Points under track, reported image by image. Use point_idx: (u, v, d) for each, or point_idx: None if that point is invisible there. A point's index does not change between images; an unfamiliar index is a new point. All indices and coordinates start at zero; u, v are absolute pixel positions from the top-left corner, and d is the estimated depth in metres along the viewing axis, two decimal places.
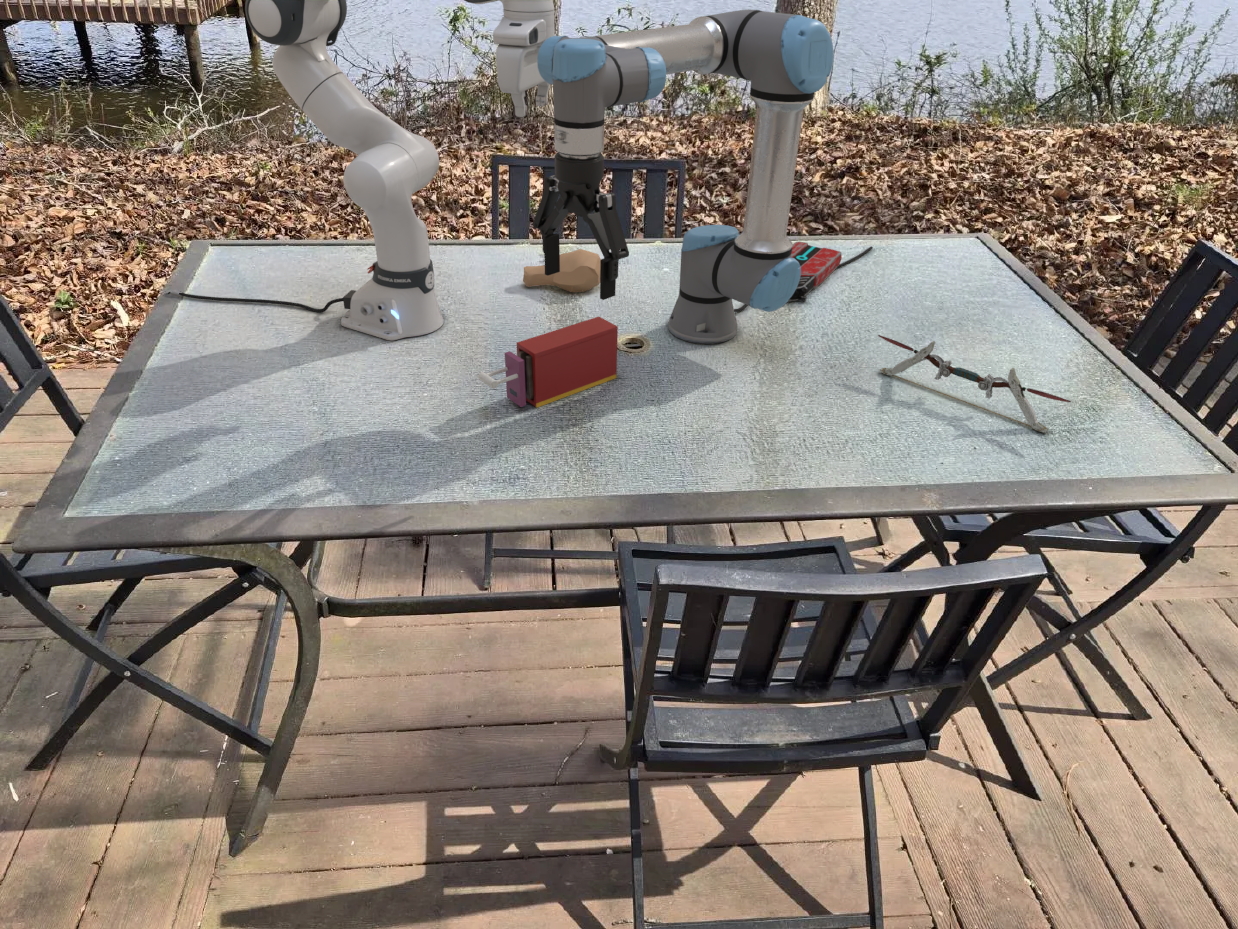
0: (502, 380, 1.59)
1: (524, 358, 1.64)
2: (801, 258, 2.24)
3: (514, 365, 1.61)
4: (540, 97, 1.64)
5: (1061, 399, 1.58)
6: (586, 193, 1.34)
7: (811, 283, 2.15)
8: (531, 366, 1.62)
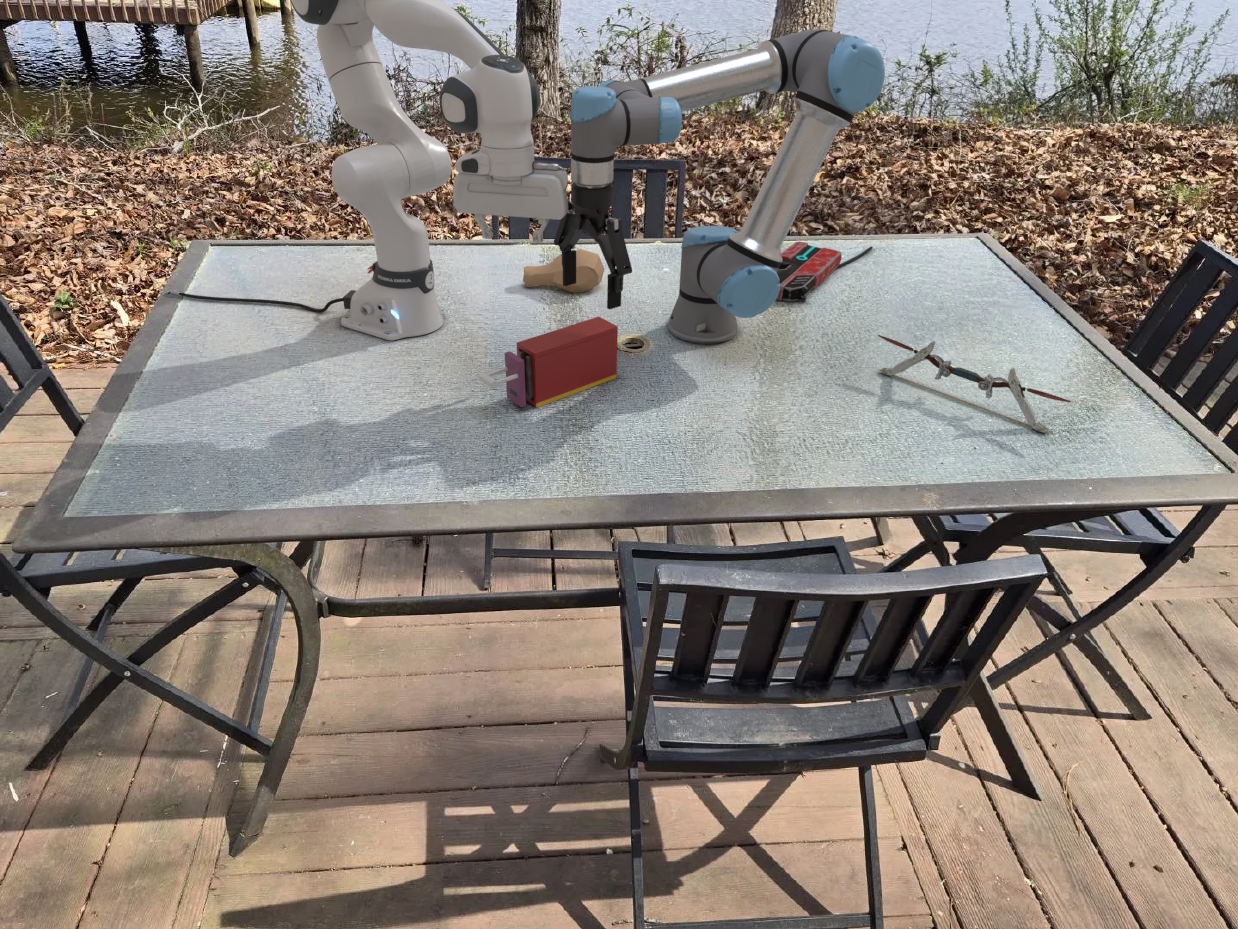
0: (502, 380, 1.59)
1: (524, 358, 1.64)
2: (801, 258, 2.24)
3: (514, 365, 1.61)
4: None
5: (1061, 399, 1.58)
6: None
7: (811, 283, 2.15)
8: (531, 366, 1.62)
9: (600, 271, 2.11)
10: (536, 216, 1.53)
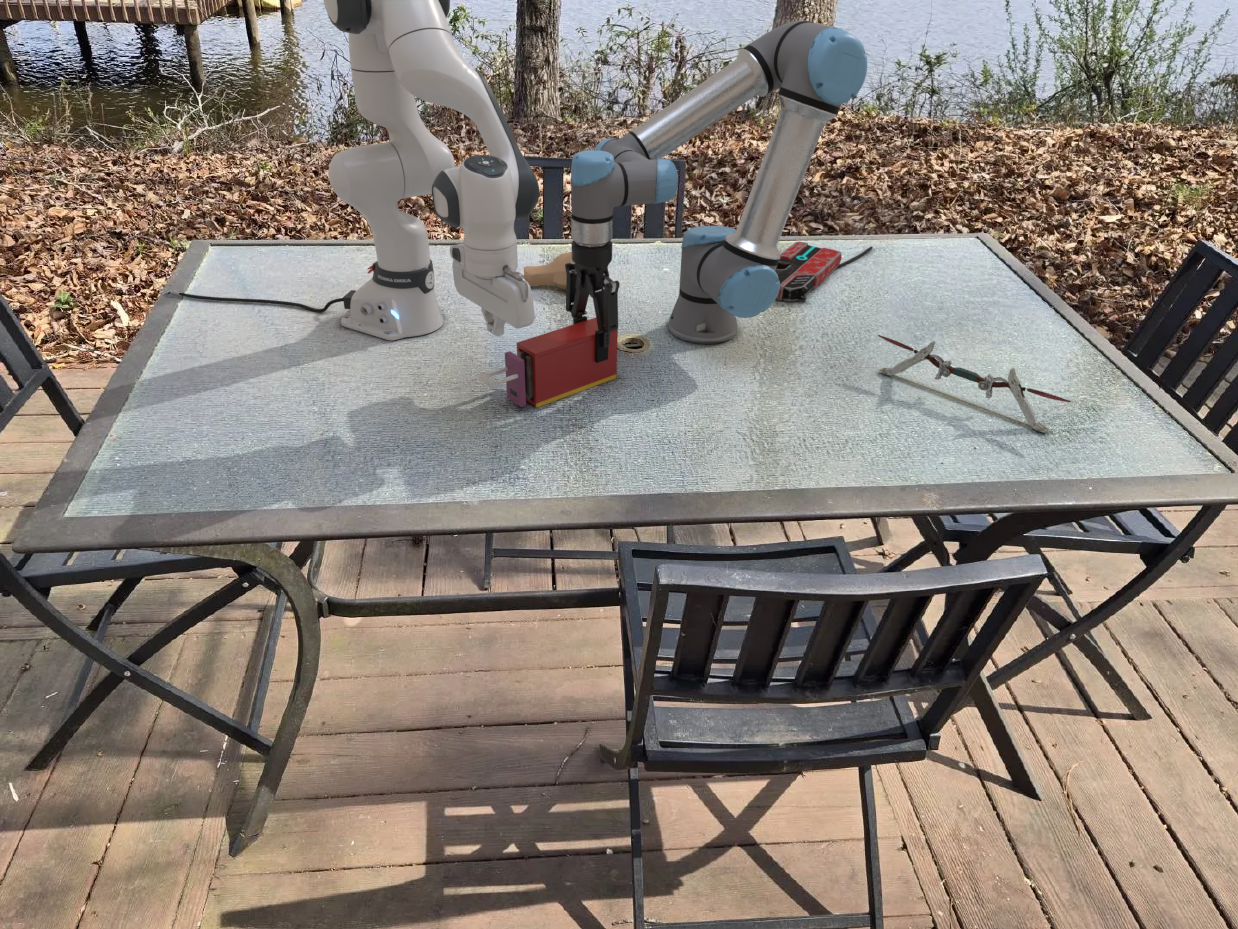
0: (502, 380, 1.59)
1: (524, 358, 1.64)
2: (801, 258, 2.24)
3: (514, 365, 1.61)
4: None
5: (1061, 399, 1.58)
6: None
7: (811, 283, 2.15)
8: (531, 366, 1.62)
9: None
10: (501, 318, 1.49)
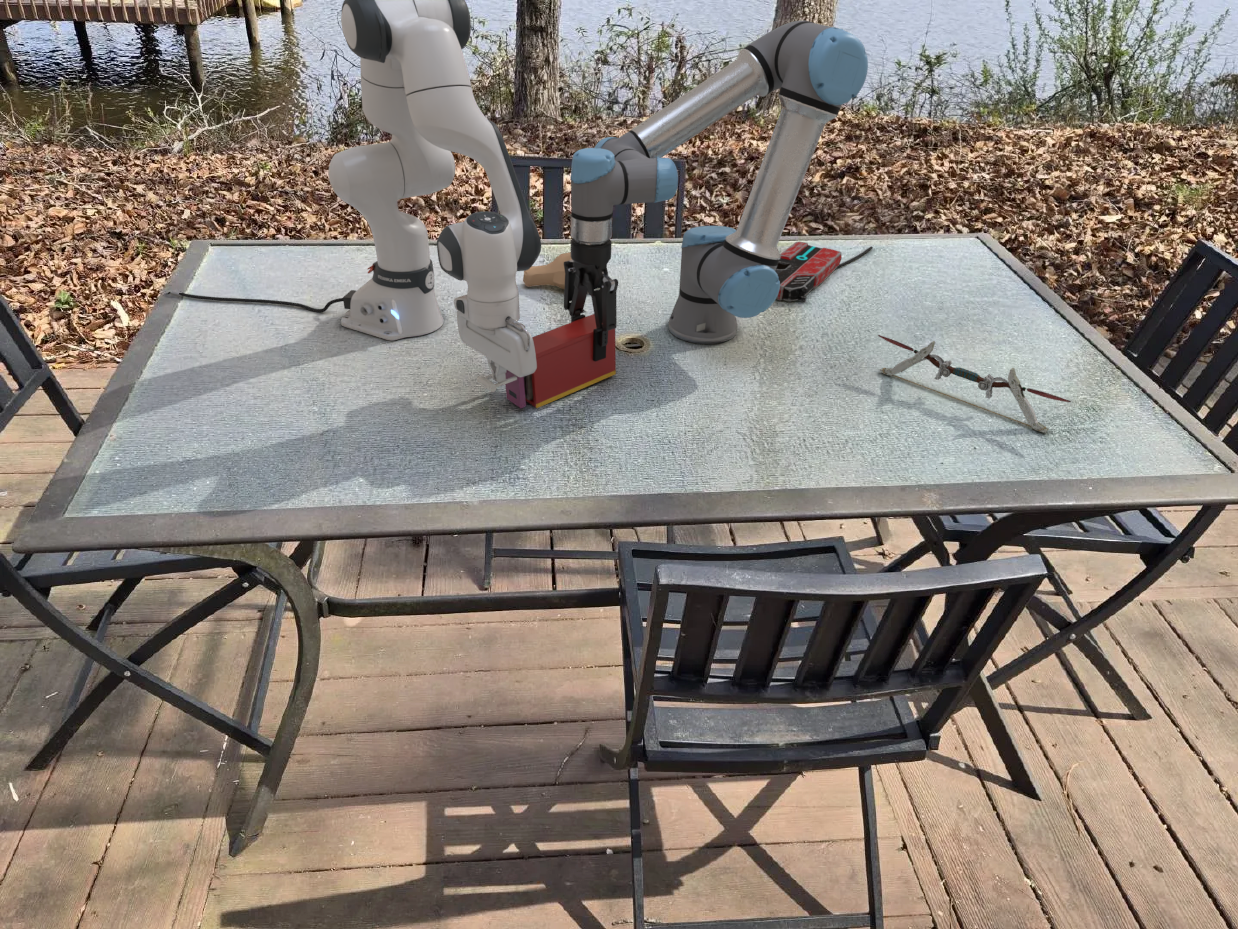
0: (501, 383, 1.59)
1: None
2: (801, 258, 2.24)
3: None
4: None
5: (1061, 399, 1.58)
6: None
7: (811, 283, 2.15)
8: None
9: None
10: (504, 367, 1.53)
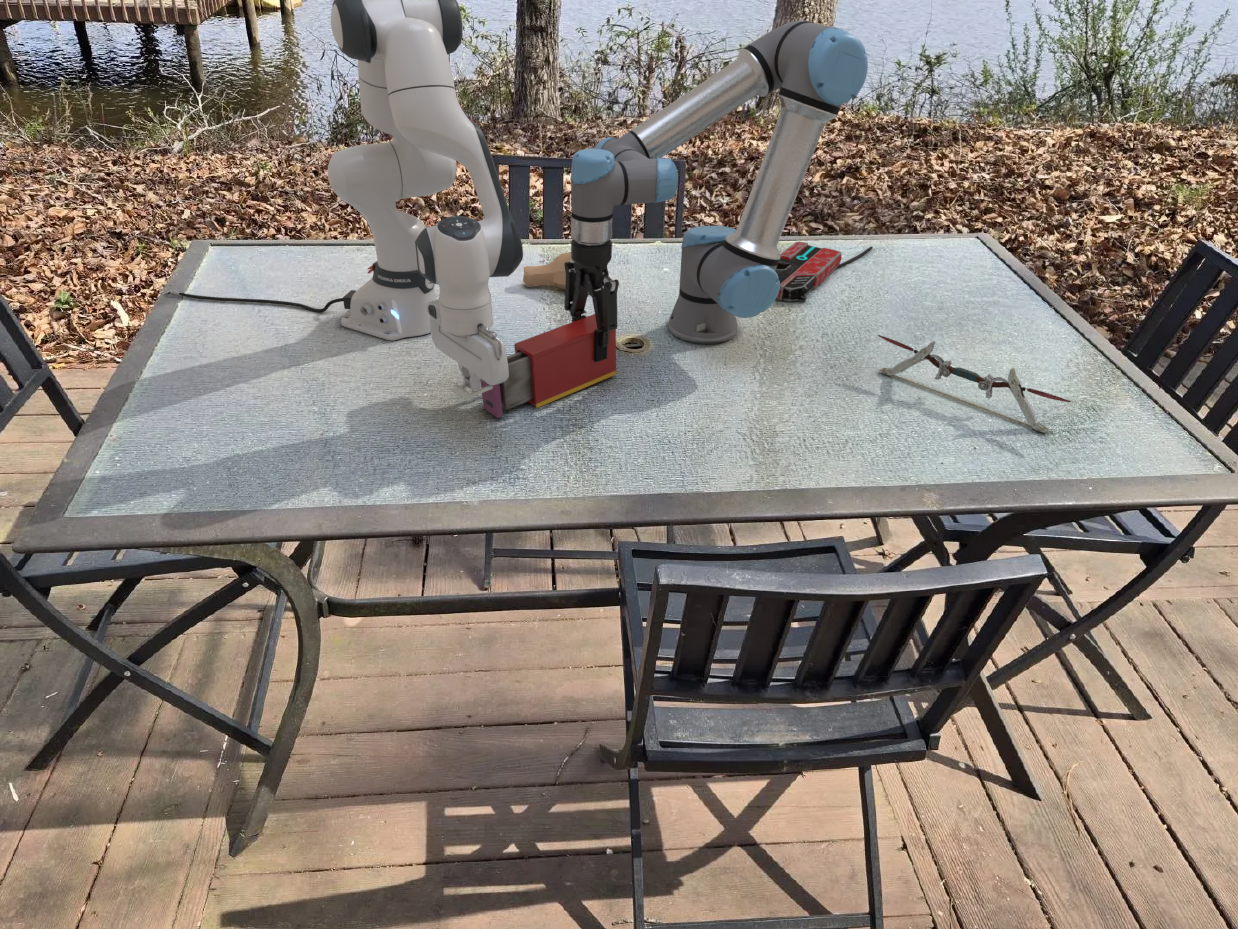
0: (476, 392, 1.56)
1: None
2: (801, 258, 2.24)
3: None
4: None
5: (1061, 399, 1.58)
6: None
7: (811, 283, 2.15)
8: None
9: None
10: (476, 375, 1.50)
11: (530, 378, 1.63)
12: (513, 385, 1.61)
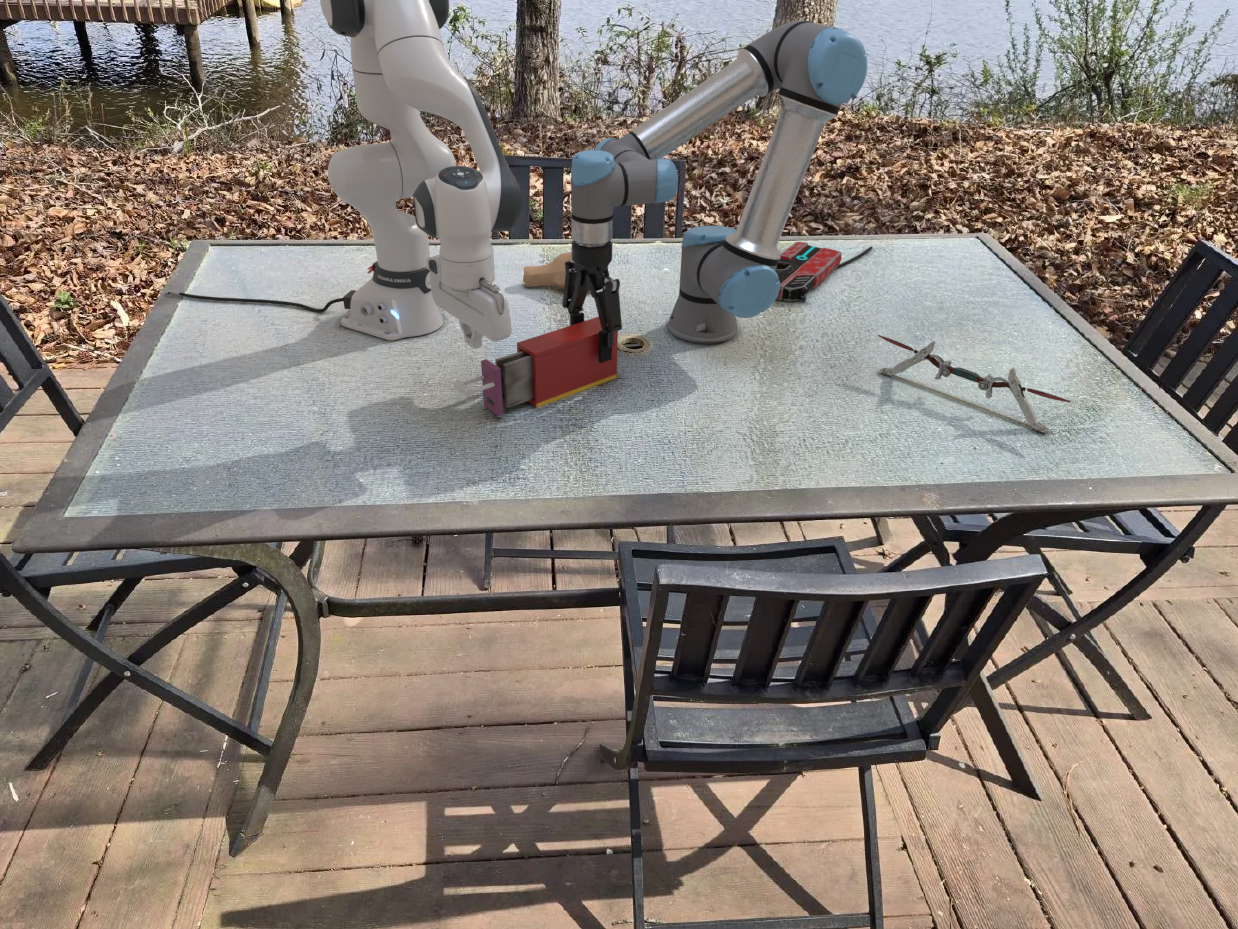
0: (478, 389, 1.56)
1: (501, 366, 1.61)
2: (801, 258, 2.24)
3: (490, 374, 1.58)
4: None
5: (1061, 399, 1.58)
6: None
7: (811, 283, 2.15)
8: (508, 374, 1.60)
9: None
10: (478, 331, 1.47)
11: (532, 377, 1.64)
12: (514, 384, 1.62)
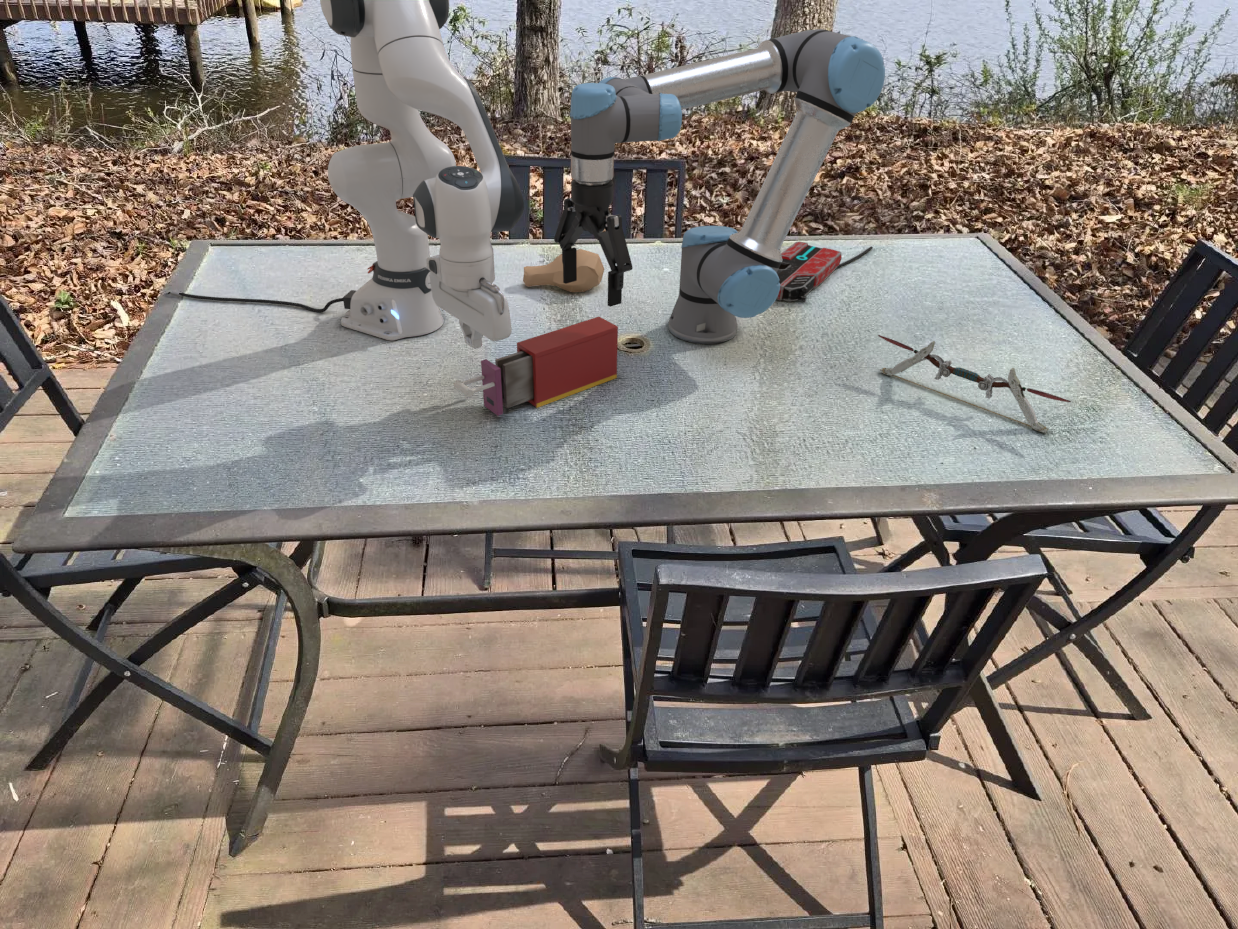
0: (478, 389, 1.56)
1: (501, 366, 1.61)
2: (801, 258, 2.24)
3: (490, 374, 1.58)
4: None
5: (1061, 399, 1.58)
6: None
7: (811, 283, 2.15)
8: (508, 374, 1.60)
9: (600, 271, 2.11)
10: (478, 331, 1.47)
11: (532, 377, 1.64)
12: (514, 384, 1.62)
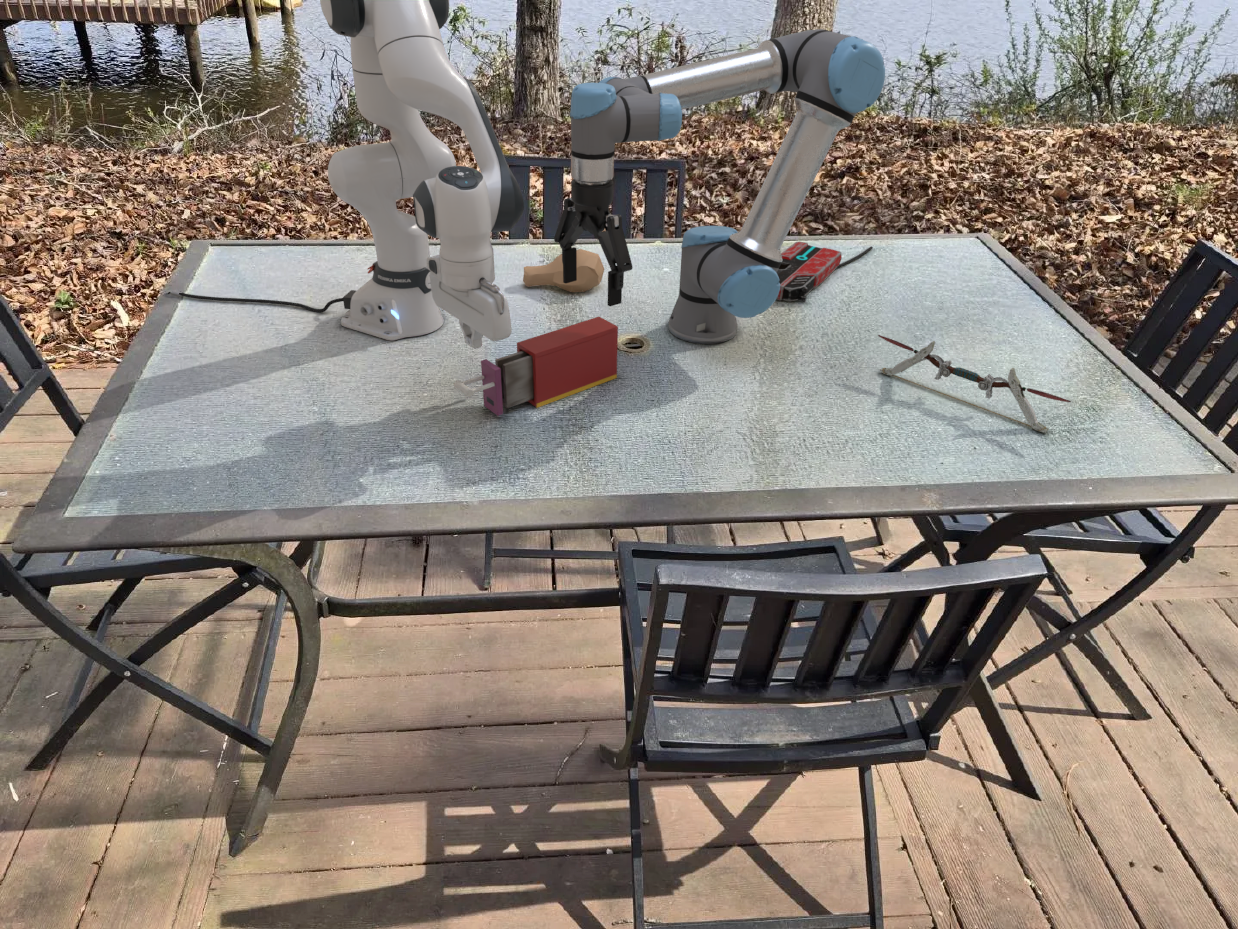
0: (478, 389, 1.56)
1: (501, 366, 1.61)
2: (801, 258, 2.24)
3: (490, 374, 1.58)
4: None
5: (1061, 399, 1.58)
6: None
7: (811, 283, 2.15)
8: (508, 374, 1.60)
9: (600, 271, 2.11)
10: (478, 331, 1.47)
11: (532, 377, 1.64)
12: (514, 384, 1.62)
